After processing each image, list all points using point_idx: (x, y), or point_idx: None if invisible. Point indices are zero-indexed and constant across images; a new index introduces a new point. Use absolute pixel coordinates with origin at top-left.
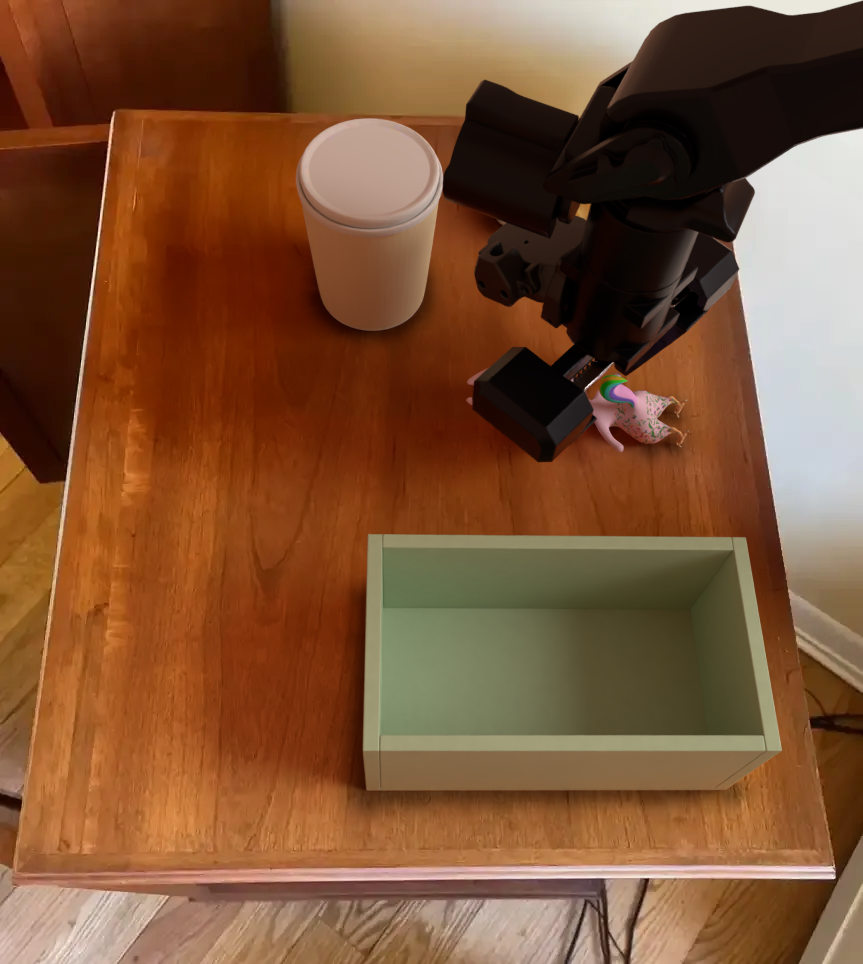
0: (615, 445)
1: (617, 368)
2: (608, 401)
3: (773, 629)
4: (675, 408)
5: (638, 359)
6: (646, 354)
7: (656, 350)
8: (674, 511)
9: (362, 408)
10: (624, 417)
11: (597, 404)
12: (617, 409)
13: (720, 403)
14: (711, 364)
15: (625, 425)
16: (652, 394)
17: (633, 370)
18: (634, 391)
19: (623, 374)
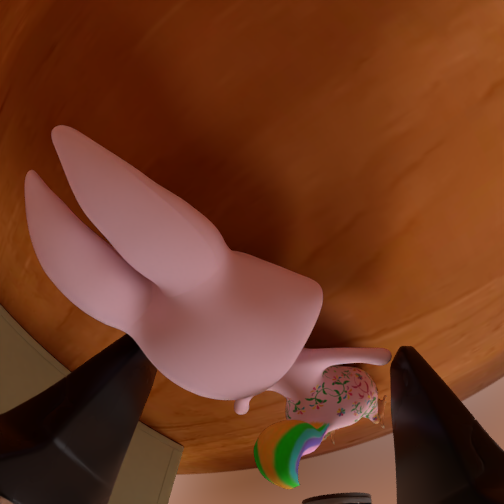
0: (235, 409)
1: (398, 356)
2: (308, 381)
3: (213, 469)
4: (378, 401)
5: (398, 434)
6: (399, 463)
7: (398, 490)
8: (241, 427)
9: (14, 14)
10: (290, 410)
11: (284, 376)
12: (296, 402)
13: None
14: (470, 377)
15: (286, 403)
16: (368, 408)
17: (391, 400)
18: (351, 406)
19: (391, 363)
